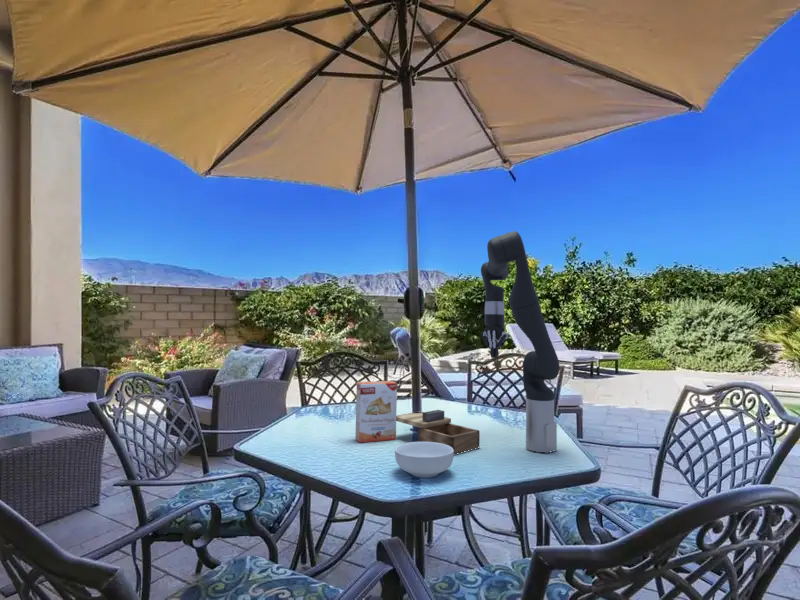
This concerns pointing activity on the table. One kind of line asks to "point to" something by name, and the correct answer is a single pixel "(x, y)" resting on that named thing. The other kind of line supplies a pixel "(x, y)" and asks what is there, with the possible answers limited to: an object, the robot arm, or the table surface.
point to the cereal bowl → (424, 458)
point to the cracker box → (376, 411)
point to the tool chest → (451, 436)
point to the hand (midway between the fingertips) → (494, 357)
